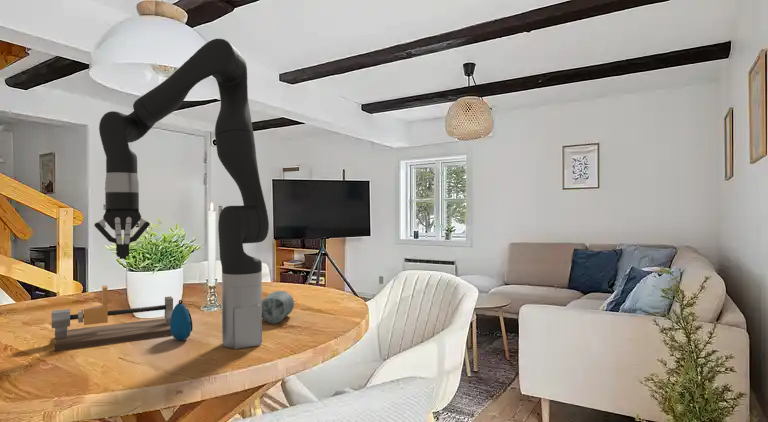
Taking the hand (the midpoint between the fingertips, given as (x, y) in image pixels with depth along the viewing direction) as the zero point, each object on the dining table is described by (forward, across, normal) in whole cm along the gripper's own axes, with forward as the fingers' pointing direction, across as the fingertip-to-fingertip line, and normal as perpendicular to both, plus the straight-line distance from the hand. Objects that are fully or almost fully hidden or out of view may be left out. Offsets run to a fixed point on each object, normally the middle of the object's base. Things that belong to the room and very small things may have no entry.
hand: (123, 258), depth 120 cm
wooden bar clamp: (+20, -1, +1) cm, 20 cm away
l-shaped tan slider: (+16, -6, +1) cm, 17 cm away
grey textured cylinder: (+20, +39, -6) cm, 44 cm away
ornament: (+20, +12, -13) cm, 26 cm away
